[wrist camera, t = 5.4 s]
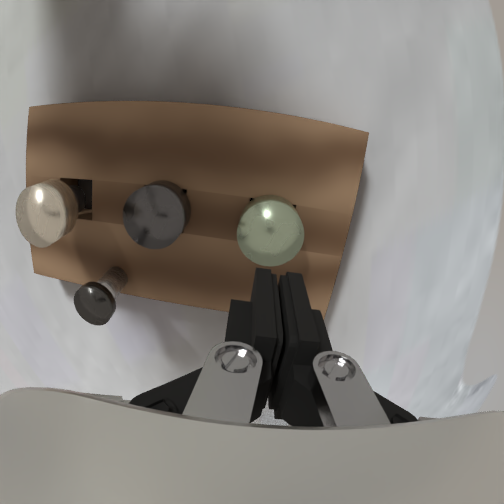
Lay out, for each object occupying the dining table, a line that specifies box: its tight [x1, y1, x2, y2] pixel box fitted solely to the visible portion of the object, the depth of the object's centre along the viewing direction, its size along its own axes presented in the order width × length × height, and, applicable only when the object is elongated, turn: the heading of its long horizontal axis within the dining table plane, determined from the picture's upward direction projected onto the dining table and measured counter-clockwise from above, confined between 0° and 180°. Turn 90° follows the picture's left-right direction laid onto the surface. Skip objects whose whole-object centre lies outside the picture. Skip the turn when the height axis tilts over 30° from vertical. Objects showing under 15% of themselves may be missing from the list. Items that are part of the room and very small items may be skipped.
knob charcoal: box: [123, 180, 191, 249], centre depth 22 cm, size 4×4×5 cm
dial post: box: [74, 267, 128, 325], centre depth 23 cm, size 3×3×5 cm
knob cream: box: [16, 179, 86, 248], centre depth 20 cm, size 4×4×5 cm
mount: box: [26, 101, 369, 320], centre depth 24 cm, size 16×28×3 cm, turn 81°
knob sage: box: [237, 195, 304, 266], centre depth 23 cm, size 4×4×5 cm
